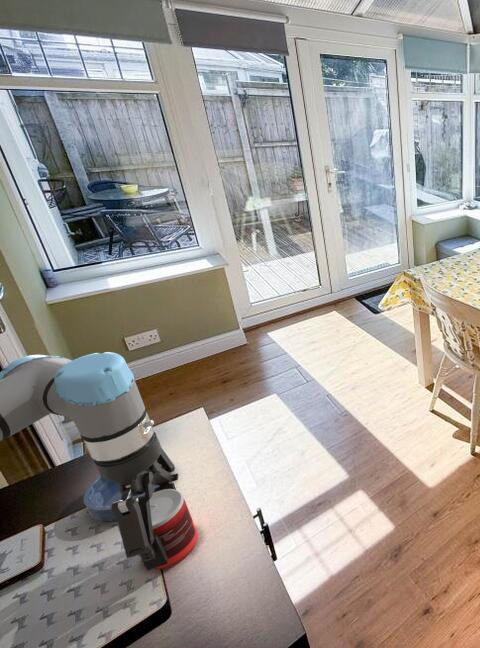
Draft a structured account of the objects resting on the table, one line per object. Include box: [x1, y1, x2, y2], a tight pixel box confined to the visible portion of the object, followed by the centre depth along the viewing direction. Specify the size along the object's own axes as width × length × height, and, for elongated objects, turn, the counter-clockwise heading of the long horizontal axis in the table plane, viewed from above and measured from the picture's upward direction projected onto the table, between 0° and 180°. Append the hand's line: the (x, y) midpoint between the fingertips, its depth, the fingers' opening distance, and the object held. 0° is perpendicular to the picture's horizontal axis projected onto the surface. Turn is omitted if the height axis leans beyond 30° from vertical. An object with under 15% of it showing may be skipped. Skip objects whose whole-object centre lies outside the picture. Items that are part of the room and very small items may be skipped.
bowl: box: [83, 471, 175, 522], centre depth 85 cm, size 13×13×4 cm
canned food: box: [149, 489, 199, 570], centre depth 73 cm, size 8×8×11 cm
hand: (166, 536), depth 74 cm, fingers open, 10 cm apart
